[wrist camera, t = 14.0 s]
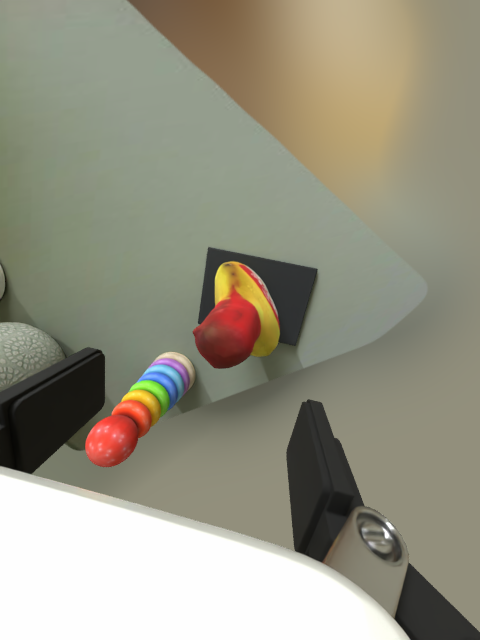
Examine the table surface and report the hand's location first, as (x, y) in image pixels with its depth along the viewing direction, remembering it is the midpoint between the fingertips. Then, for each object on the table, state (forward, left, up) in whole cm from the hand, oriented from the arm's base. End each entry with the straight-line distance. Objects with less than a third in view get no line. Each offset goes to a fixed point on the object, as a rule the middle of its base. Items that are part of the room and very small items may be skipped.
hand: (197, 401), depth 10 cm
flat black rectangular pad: (0, 0, -26) cm, 26 cm away
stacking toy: (-11, -16, -26) cm, 32 cm away
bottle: (0, 0, -25) cm, 25 cm away
